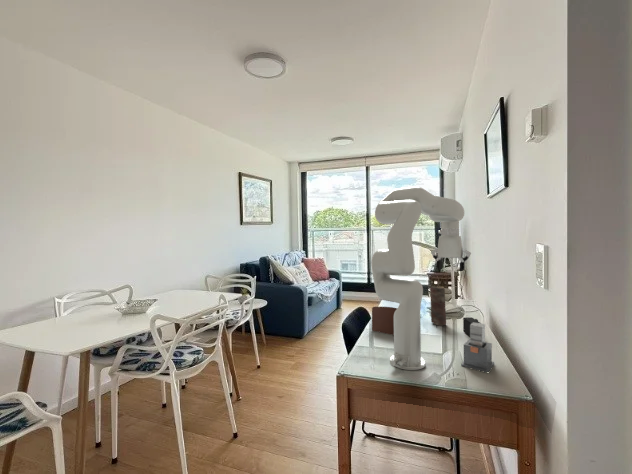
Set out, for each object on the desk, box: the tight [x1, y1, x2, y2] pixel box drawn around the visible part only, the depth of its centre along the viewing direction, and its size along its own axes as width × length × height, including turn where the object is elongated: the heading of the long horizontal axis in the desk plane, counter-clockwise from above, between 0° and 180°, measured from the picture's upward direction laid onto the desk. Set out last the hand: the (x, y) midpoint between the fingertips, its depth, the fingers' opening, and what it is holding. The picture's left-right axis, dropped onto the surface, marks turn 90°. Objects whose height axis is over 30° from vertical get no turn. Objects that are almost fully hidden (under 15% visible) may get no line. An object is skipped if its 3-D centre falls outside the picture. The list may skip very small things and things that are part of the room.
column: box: [469, 322, 486, 348], centre depth 116 cm, size 4×4×14 cm
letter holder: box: [371, 306, 398, 336], centre depth 152 cm, size 10×20×14 cm, turn 56°
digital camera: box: [462, 316, 482, 337], centre depth 149 cm, size 10×5×7 cm, turn 177°
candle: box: [429, 286, 447, 327], centre depth 166 cm, size 8×7×20 cm
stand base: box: [460, 338, 495, 373], centre depth 116 cm, size 9×9×8 cm
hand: (450, 270), depth 145 cm, fingers open, 9 cm apart
